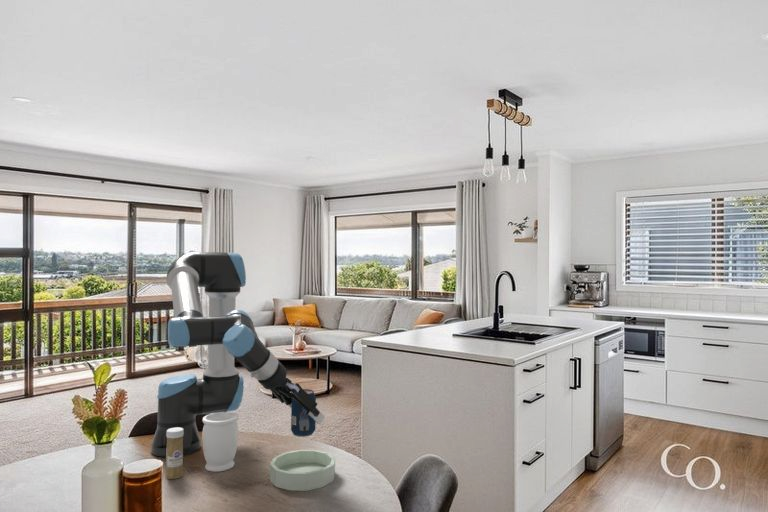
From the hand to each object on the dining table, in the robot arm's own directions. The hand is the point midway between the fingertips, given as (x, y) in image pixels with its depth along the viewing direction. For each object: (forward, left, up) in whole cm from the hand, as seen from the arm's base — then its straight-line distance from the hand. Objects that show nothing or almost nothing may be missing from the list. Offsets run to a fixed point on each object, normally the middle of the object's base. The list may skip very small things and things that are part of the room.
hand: (312, 417), depth 152 cm
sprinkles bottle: (-17, -35, -16) cm, 42 cm away
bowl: (+1, -3, -16) cm, 16 cm away
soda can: (+1, -3, -4) cm, 5 cm away
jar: (-18, -22, -16) cm, 33 cm away
